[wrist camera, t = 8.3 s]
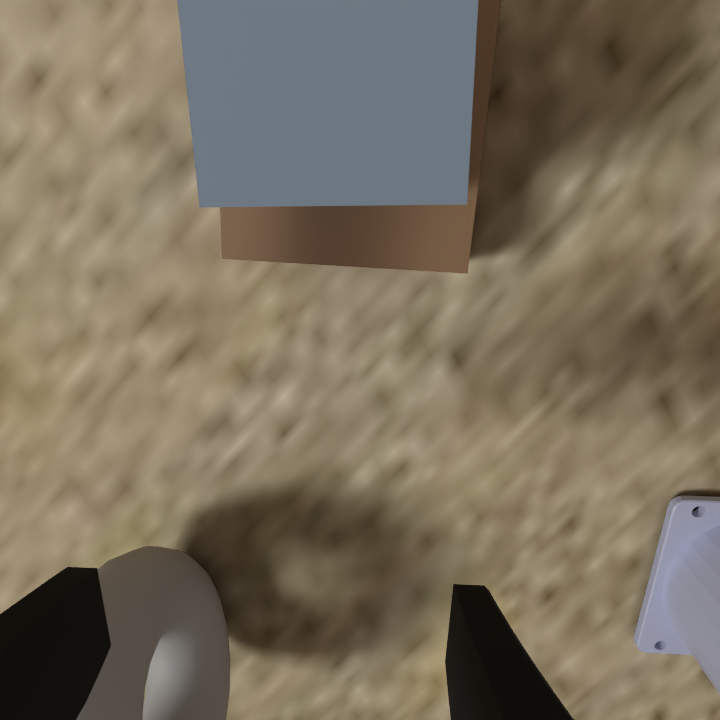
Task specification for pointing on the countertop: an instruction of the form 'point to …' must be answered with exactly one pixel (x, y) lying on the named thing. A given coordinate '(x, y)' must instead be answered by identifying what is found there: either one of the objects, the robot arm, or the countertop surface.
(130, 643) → the donut
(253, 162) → the grey block
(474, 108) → the walnut block
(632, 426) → the countertop surface
